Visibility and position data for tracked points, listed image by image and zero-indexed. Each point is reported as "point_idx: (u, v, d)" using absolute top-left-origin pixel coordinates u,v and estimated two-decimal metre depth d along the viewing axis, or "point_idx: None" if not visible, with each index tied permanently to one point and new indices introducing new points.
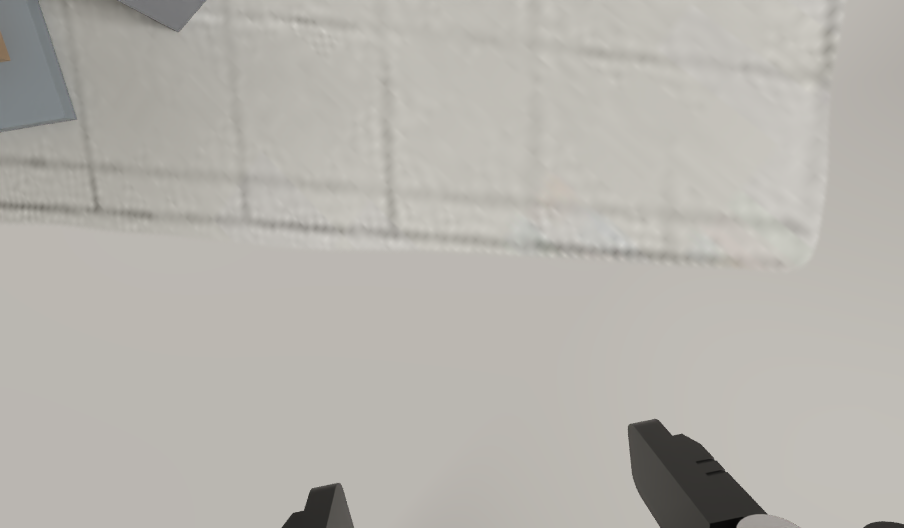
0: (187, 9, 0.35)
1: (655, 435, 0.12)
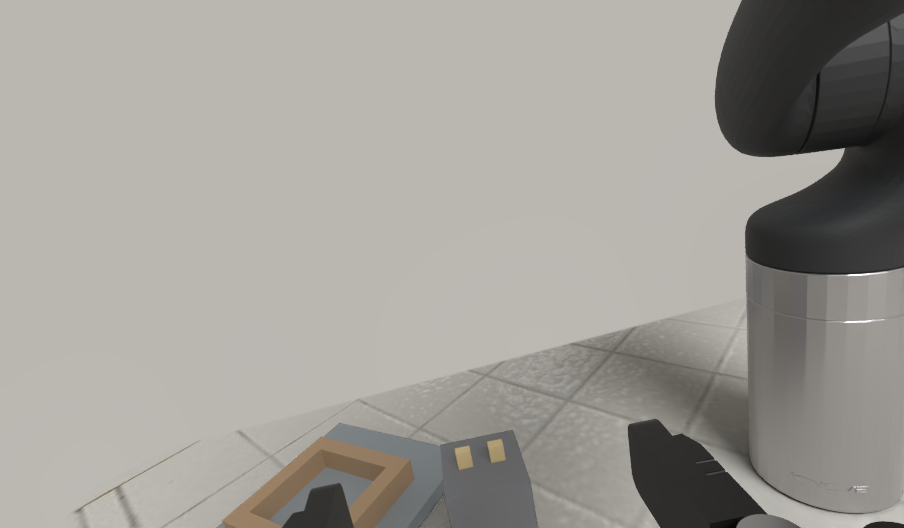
0: None
1: (655, 435, 0.12)
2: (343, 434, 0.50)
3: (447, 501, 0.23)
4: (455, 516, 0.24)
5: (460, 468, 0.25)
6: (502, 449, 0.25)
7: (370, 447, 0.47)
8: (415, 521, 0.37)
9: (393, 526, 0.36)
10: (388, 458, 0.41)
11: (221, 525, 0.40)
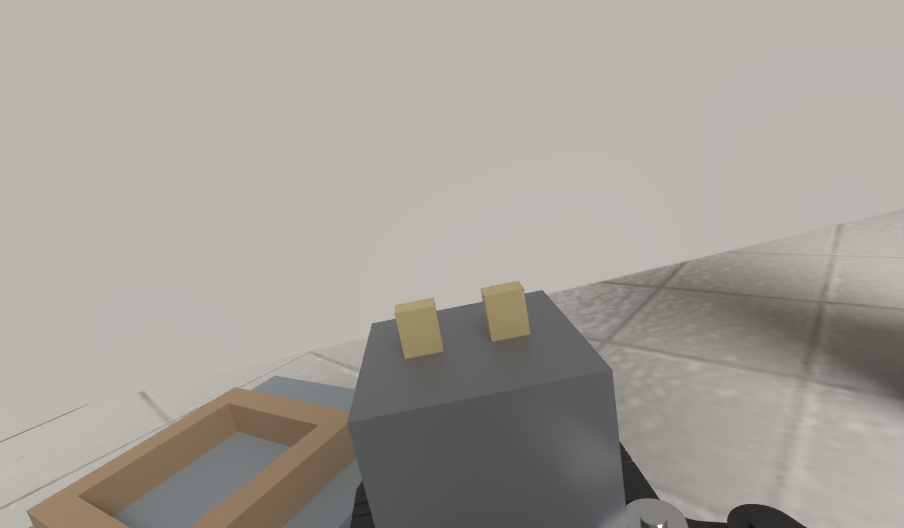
0: None
1: None
2: (275, 389, 0.34)
3: (355, 428, 0.08)
4: (383, 476, 0.08)
5: (409, 355, 0.09)
6: (522, 303, 0.09)
7: None
8: None
9: (318, 522, 0.20)
10: (325, 412, 0.25)
11: None
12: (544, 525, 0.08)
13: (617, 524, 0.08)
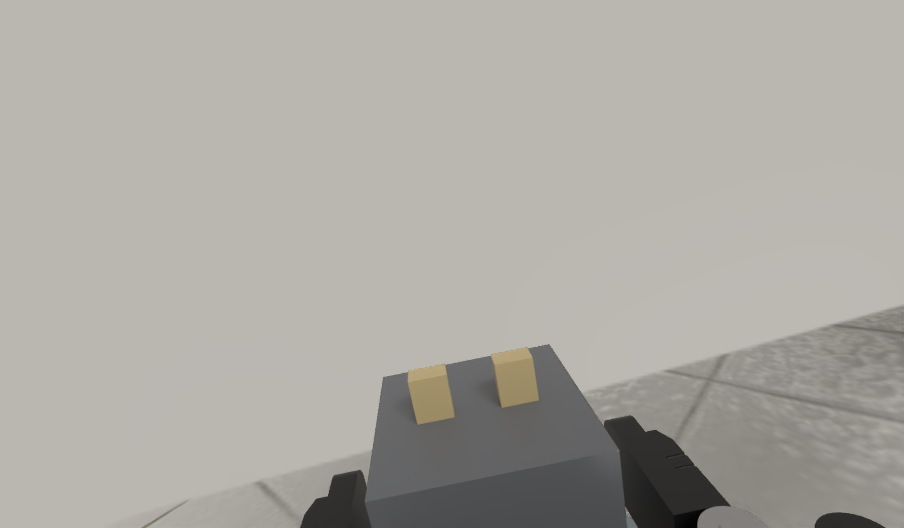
0: None
1: (629, 431, 0.12)
2: None
3: (372, 507, 0.08)
4: None
5: (422, 421, 0.10)
6: (530, 371, 0.10)
7: None
8: None
9: None
10: None
11: None
12: None
13: None
